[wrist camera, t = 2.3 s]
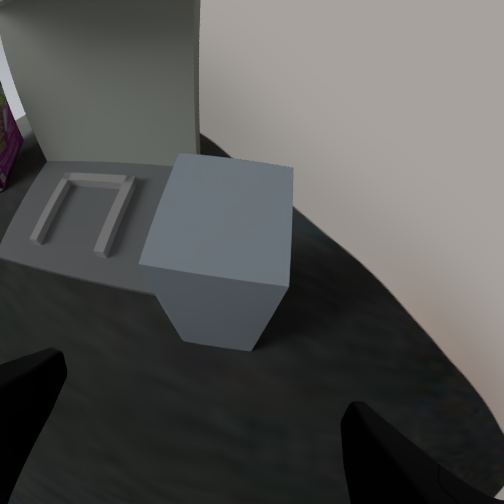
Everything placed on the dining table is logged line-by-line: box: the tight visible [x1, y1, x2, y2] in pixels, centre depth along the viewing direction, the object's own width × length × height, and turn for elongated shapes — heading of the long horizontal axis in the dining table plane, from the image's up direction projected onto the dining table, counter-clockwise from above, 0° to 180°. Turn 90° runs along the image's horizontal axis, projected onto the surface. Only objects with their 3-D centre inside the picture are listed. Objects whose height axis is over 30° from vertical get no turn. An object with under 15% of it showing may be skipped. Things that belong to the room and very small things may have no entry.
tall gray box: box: [139, 153, 293, 351], centre depth 16 cm, size 6×5×12 cm
